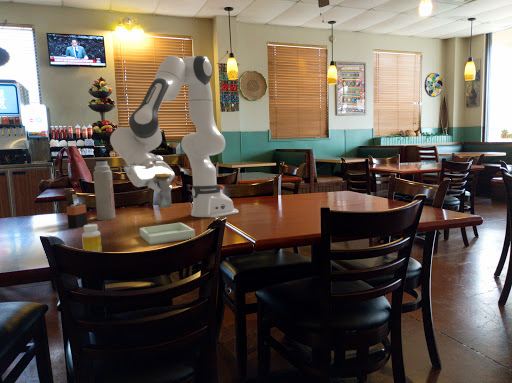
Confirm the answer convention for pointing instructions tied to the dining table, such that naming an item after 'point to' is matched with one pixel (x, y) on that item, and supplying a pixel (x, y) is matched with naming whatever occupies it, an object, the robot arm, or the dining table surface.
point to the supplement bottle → (91, 238)
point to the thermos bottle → (104, 190)
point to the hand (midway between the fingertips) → (165, 190)
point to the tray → (166, 233)
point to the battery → (76, 215)
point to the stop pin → (164, 189)
